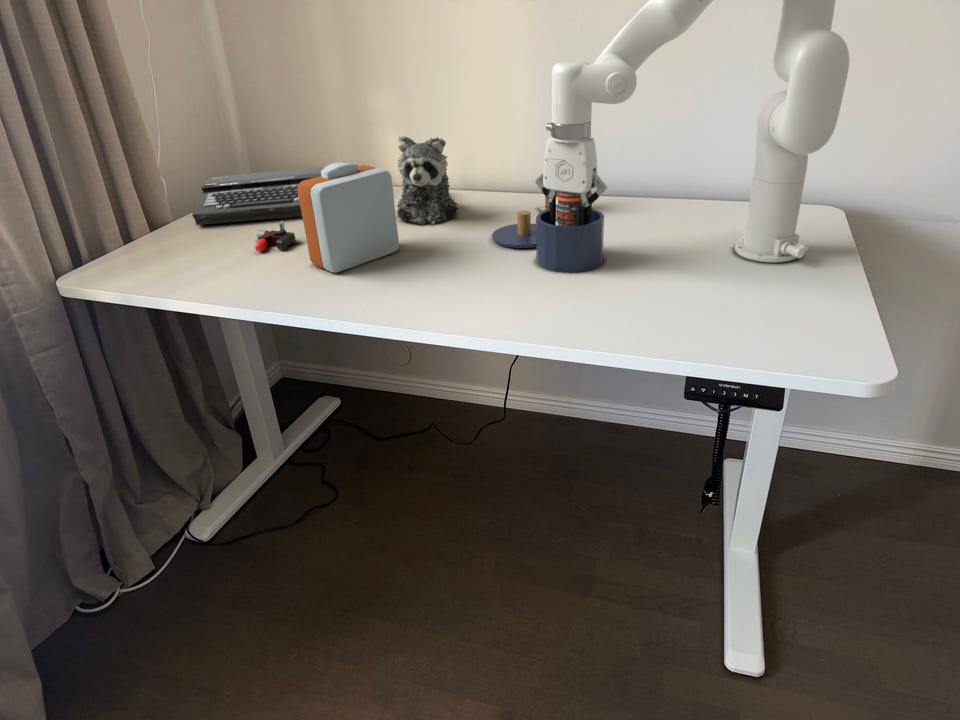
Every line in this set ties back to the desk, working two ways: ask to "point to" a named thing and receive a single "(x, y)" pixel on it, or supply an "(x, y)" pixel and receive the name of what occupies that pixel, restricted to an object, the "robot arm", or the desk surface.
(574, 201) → the supplement bottle
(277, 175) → the vintage computer
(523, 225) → the tin lid
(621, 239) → the desk surface
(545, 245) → the tin
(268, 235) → the toy gun
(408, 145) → the raccoon plush
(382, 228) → the alarm clock
